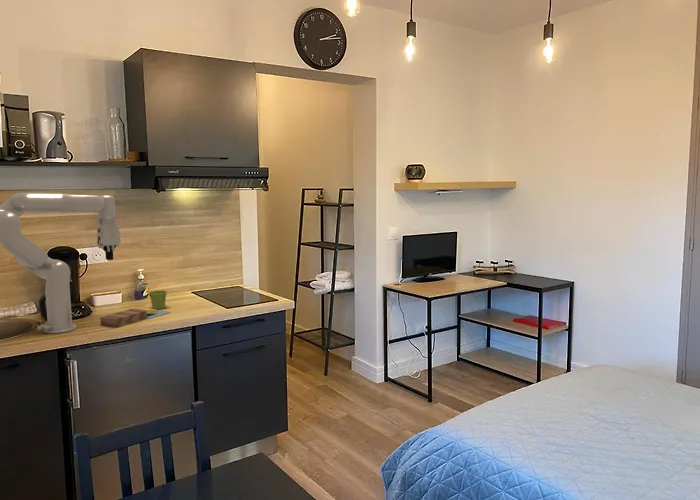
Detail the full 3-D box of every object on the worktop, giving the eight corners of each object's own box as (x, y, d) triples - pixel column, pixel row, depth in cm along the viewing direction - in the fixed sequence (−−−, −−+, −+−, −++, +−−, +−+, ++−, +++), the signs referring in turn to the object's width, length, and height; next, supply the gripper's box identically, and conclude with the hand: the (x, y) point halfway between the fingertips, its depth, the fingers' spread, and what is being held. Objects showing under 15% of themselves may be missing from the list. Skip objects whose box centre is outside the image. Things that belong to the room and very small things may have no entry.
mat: (149, 318, 256) (149, 318, 256) (131, 316, 261) (131, 315, 261) (170, 312, 268) (170, 312, 268) (153, 310, 274) (153, 309, 273)
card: (143, 313, 256) (143, 309, 257) (134, 312, 259) (135, 308, 259) (157, 313, 265) (157, 309, 265) (148, 312, 267) (149, 308, 267)
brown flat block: (115, 327, 240) (115, 319, 239) (100, 325, 244) (100, 317, 244) (146, 318, 256) (146, 310, 255) (132, 316, 260) (131, 308, 260)
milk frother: (63, 316, 261) (61, 287, 259) (86, 319, 255) (84, 289, 253) (37, 323, 248) (34, 292, 247) (60, 326, 242) (58, 295, 240)
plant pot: (155, 311, 271) (154, 294, 270) (145, 308, 278) (144, 292, 276) (171, 307, 278) (170, 291, 277) (162, 305, 285) (161, 289, 283)
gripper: (99, 222, 242) (101, 262, 244) (125, 220, 255) (127, 258, 258) (88, 222, 245) (90, 261, 248) (114, 220, 259) (117, 257, 261)
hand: (109, 259), depth 253 cm, fingers closed
